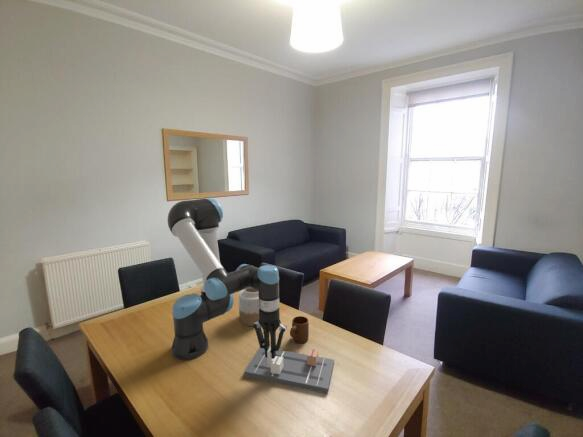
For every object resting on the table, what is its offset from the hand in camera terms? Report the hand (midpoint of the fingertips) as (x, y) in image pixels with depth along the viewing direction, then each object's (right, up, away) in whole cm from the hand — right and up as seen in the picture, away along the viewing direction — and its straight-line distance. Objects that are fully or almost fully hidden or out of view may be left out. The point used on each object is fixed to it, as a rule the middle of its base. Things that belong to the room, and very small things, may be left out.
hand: (270, 364), depth 112 cm
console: (+8, -3, +3) cm, 9 cm away
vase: (-11, +3, +41) cm, 43 cm away
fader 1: (+3, -2, 0) cm, 3 cm away
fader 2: (+16, -1, +4) cm, 17 cm away
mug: (+11, 0, +21) cm, 24 cm away
